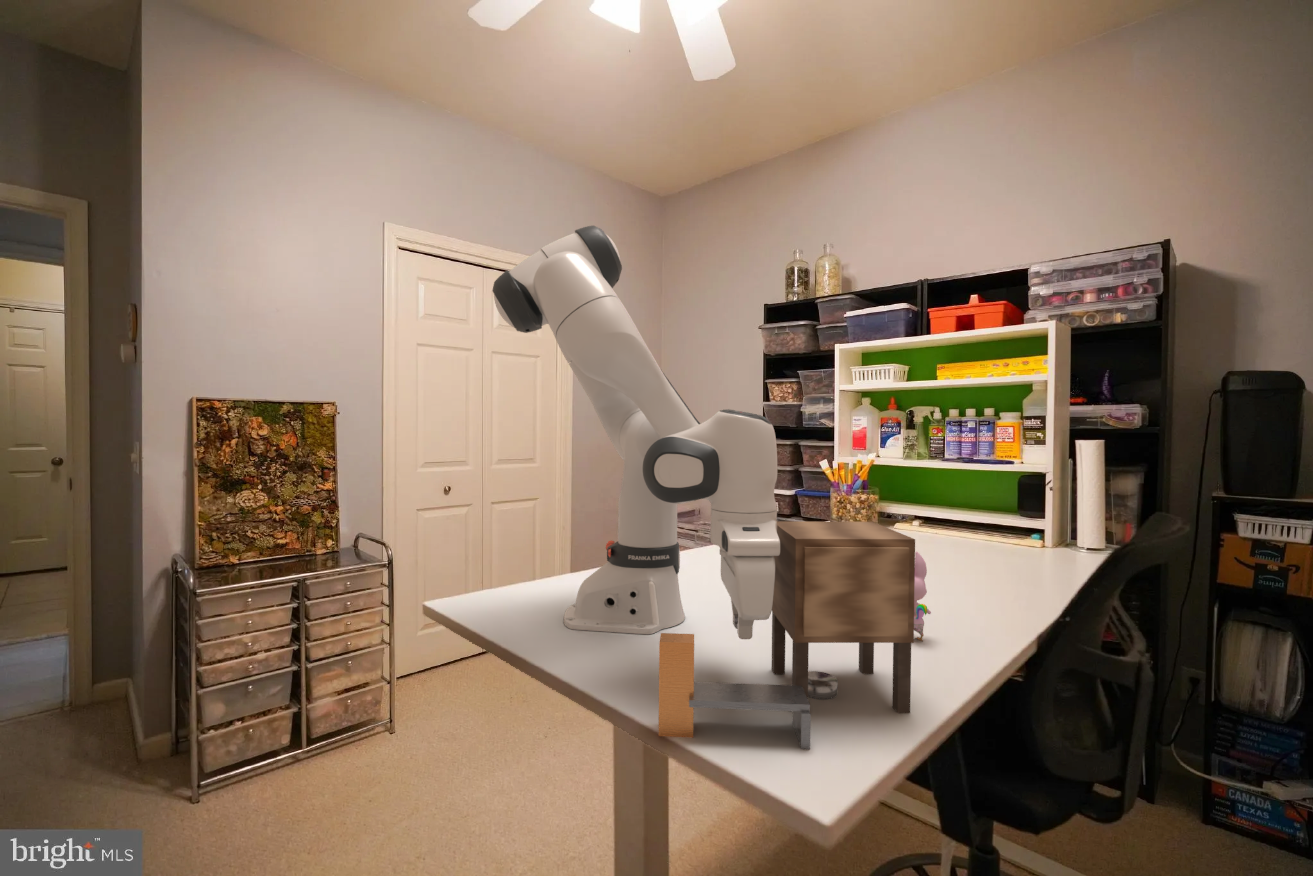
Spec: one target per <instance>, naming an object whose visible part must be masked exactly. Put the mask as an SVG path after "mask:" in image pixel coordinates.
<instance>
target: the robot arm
mask: <svg viewBox="0 0 1313 876" xmlns="http://www.w3.org/2000/svg"><path fill="white" fill-rule="evenodd" d="M622 270H623V266H622V263H621V256H620V252H619V249H618V247H617V245H616V243H615V242H614V241H613V239H612V238H611V237H610V236H609V235H608V234H607V233H605V231H604V230H603V229H602V228H600V227H598V226H595V225H587V226H583V227H581V228H578V229H575V230H574V232H573V233H571V234H568V235H566V236H563V237H561V238H559V239H556V240H554V241H552V242H550V243H548V244H546V245H544V246H542V247H541V248H540V249H539V250H538V251H535V252H534V253H533V254H531V255H529V256H528V257H527V258H525V259H524V260H522V261H520V262H519V263H518V264H516V266H514V267H513V268H512V269H510V270H505V271H504V272H503V273H501V274H500V275H499V276H498V277H497V278H496V279H495V280H494V282H493V286H492V290H491V291H492V292H493V298H494V304H495V307H496V310H497V311H498V314H499V315H500V316H501V318H502V319H503V321H505V322H506V323H507V324H508V325H509V326H511V327H512V328H513V329H515V330H516V331H517V332H520V333H524V334H528V333H531V332H536V331H539V330H541V329H542V328H543V326H546V325H548V326H549V328H550V329H551V332H552V334H553V336H554V338H555V340H556V343H557V345H558V347H559V349H560V351H561V354H562V355H563V356H564V358H565V360H566V362H567V364H568V365H569V367H570V369H571V370H572V373H573V374H574V376H575V377H576V379H577V380H578V383H579V384H580V385H581V387H582V389H583V391H584V392H585V394H586V395H587V397H588V399H589V401H590V402H591V404H592V406H593V408H594V411H595V413H596V415H597V417H598V419H599V420H600V422H601V425H602V427H603V429H604V431H605V433H606V435H607V437H608V438H609V440H610V442H611V444H612V446H613V448H614V449H615V451H616V453H617V455H618V456H619V457H620V458H621V459H622V461H623V471H622V479H621V480H622V481H621V487H620V493H619V496H618V501H617V502H618V503H617V504H618V506H617V507H618V510H617V511H618V513H617V518H618V519H617V524H618V526H617V527H618V528H617V541H615V540H613V539H612V540H611V539H610V540H608V541H607V543H606V544H605V549H606V561H607V562H606V563H604V564H603V565H602V566H600V568H598V569H597V570H595V571H594V572H593V573H591V574H590V575H589V576H588V577H587V578H585V579H584V580H583V581H582V583H581V584H580V587H579V589H578V590H577V596H576V599H575V603H574V604H571V605H570V606H569V607H568V608H567V609H566V610H565V612H564V614H563V615H564V616H563V624H564V626H565V627H566V628H568V629H569V630H575V631H576V630H578V631H591V632H607V633H618V634H619V633H622V634H635V635H636V634H639V635H652V634H653V635H654V634H655V633H657V632H659V631H661V630H664V629H668V628H672V627H675V626H678V625H680V624H682V623H683V622H684V621H685V620H686V615H685V611H684V608H683V607H684V606H683V603H682V598H681V593H680V591H681V590H680V584H679V573H680V572H679V571H680V567H681V565H680V564H681V549H680V544H679V542H678V505H680V504H687V503H691V502H696V501H699V500H707V501H708V502H710V542H711V544H713V545H715V546H718V547H719V555H720V579H721V581H722V584H723V585H724V587H725V589H726V591H727V593H728V595H729V598H730V602H731V603H730V604H731V610H732V611H731V612H732V625H733V627H734V628H735V629H736V631H737V633H736V634H737V635H738V638H739V639H740V640H751V639H752V638H753V630H754V629H753V628H754V622H755V621H766V620H769V618H770V616H771V615H772V605H773V594H774V582H775V558H774V556H779V555H780V539H779V537H778V534H777V521H778V518H777V517H778V506H777V503H776V499H775V488H776V487H775V486H776V484H777V480H778V449H777V447H778V446H777V438H776V432H775V429H774V426H773V424H772V423H771V421H770V420H769V419H768V418H767V417H765V416H763V415H761V414H756V413H753V412H747V411H743V410H734V409H730V408H728V409H721V410H718V411H717V412H716V413H715V414H714V415H713V416H711V417H710V418H708V419H707V420H705V421H703V422H700V421H699V420H698V419H697V418H696V416H695V415H694V413H693V412H692V411H691V409H690V408H689V406H688V405H687V404H686V402H685V401H684V399H683V398H682V397H681V395H680V393H679V392H678V391H677V390H676V388H675V387H674V385H672V382H671V381H670V380H669V378H668V377H667V376H666V375H665V373H664V372H663V370H662V369H661V367H660V366H659V364H658V362H657V361H656V359H655V357H654V355H653V353H652V351H651V350H650V348H649V347H648V345H647V343H646V341H645V340H644V338H643V336H642V335H641V333H640V331H639V329H638V327H637V325H636V324H635V322H634V320H633V318H632V317H631V315H630V313H629V312H628V310H627V308H626V307H625V305H624V304H623V302H622V300H621V299H620V298H619V296H618V294H617V293H616V292H615V290H614V289H613V288H614V287H615V286H616V285H617V283H618V282H619V280H620V277H621V274H622Z"/></svg>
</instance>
